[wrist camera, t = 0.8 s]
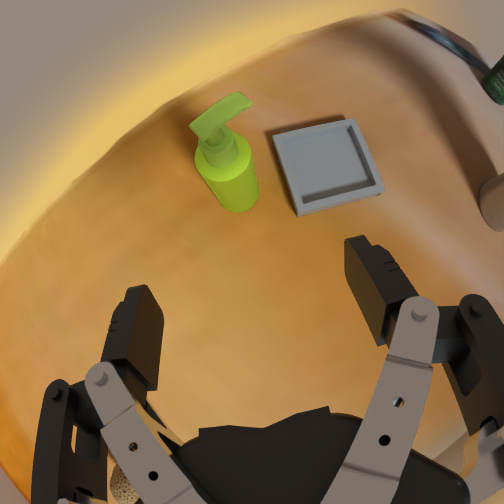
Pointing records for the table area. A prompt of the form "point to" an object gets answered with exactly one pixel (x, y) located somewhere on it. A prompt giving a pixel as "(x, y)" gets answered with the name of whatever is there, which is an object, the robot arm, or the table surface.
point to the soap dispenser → (226, 155)
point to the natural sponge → (122, 487)
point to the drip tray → (327, 166)
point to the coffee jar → (495, 82)
